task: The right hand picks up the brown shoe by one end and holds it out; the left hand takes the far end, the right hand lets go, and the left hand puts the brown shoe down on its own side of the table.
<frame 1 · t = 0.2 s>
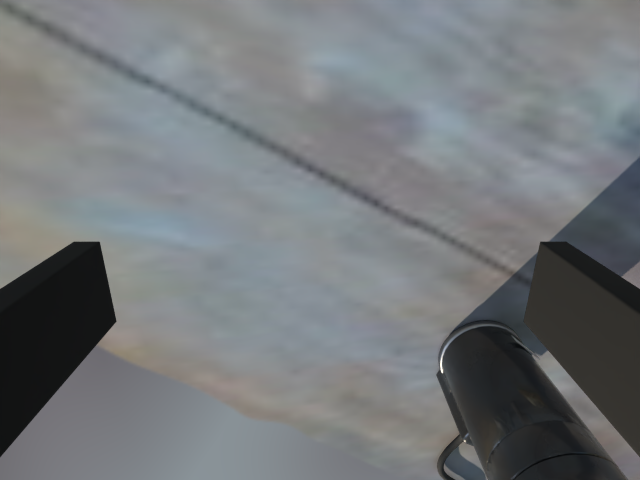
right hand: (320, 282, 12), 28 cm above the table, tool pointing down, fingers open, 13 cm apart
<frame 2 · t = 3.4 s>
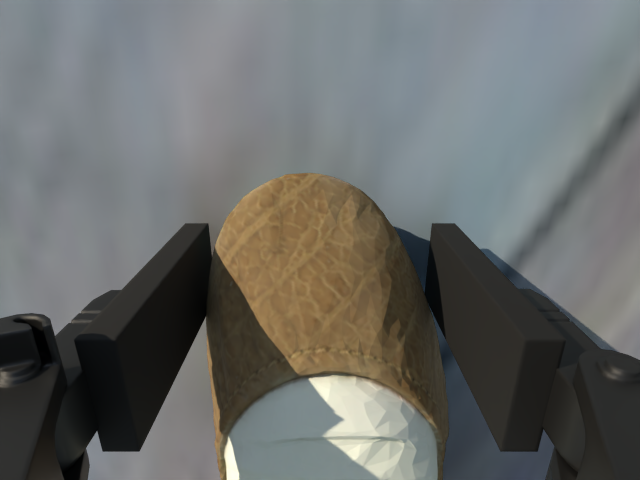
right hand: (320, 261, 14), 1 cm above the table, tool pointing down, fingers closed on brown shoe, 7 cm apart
brown shoe: (328, 446, 18), on the table, touching right hand
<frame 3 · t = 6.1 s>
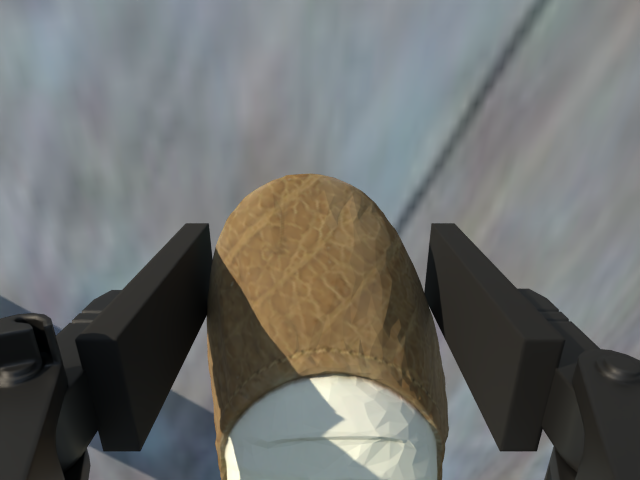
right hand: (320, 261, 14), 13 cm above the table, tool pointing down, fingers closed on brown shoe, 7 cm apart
brown shoe: (327, 446, 18), point 12 cm above the table, touching right hand
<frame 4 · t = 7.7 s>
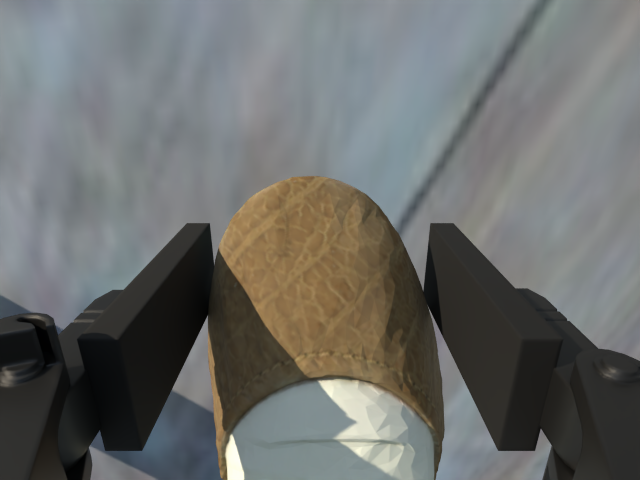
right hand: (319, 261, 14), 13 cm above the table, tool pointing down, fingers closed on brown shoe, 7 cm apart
brown shoe: (322, 442, 18), point 12 cm above the table, touching right hand, left hand
when the right hand's fingers open (13 cm above the table, at t = 8.9 s): brown shoe stays where it is, held by the left hand.
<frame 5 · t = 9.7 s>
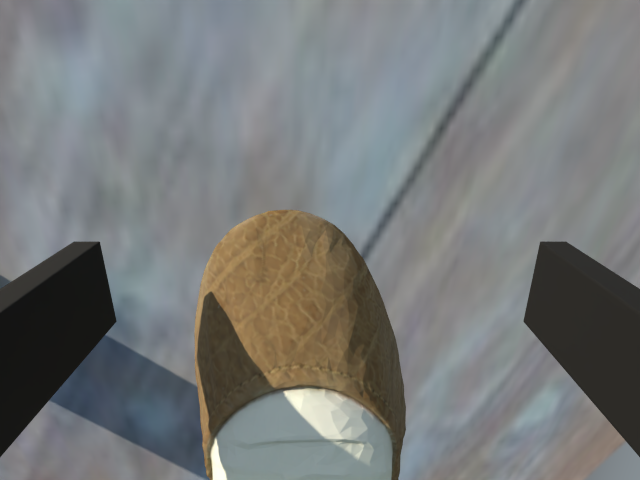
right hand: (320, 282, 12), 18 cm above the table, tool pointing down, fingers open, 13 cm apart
brown shoe: (301, 443, 20), point 14 cm above the table, touching left hand
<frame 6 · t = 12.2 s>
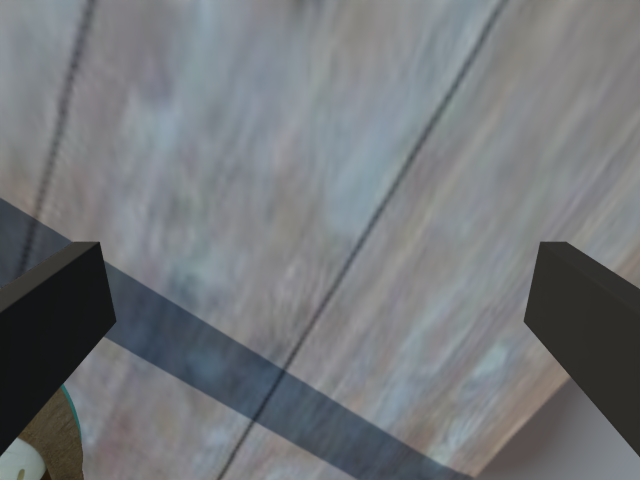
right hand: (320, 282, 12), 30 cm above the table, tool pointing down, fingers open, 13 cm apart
brown shoe: (50, 448, 36), point 15 cm above the table, touching left hand
when the left hand's fingers open (4 cm above the table, at t = 16.9 s): brown shoe stays where it is, on the table.
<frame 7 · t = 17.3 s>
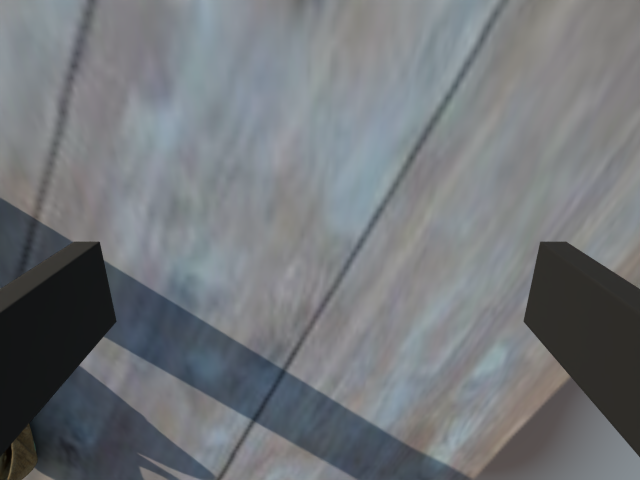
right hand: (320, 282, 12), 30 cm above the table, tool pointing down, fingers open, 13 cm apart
brown shoe: (8, 394, 52), on the table
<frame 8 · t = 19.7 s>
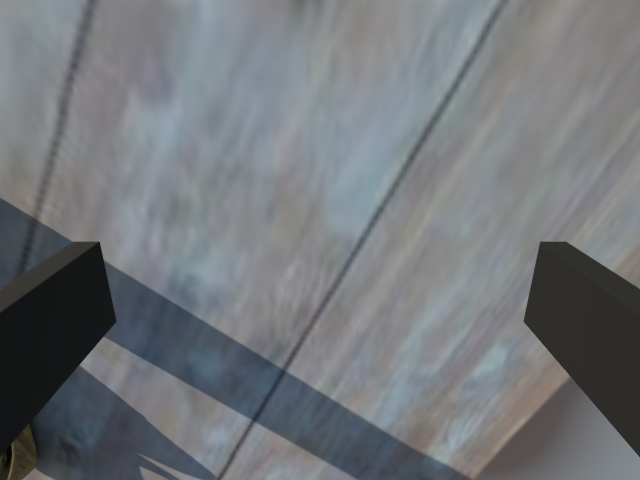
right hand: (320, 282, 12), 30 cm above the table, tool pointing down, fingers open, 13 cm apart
brown shoe: (8, 394, 52), on the table
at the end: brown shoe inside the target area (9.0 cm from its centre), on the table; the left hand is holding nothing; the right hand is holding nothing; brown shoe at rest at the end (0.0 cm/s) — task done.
